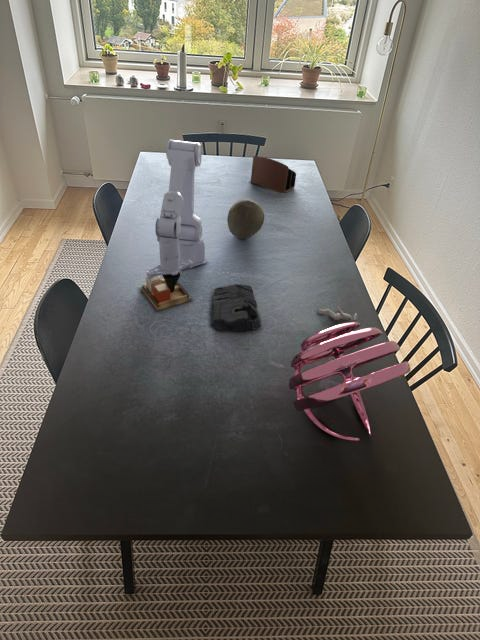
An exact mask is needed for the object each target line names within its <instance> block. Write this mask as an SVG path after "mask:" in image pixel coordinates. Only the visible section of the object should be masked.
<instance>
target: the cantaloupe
mask: <svg viewBox="0 0 480 640" xmlns="http://www.w3.org/2000/svg"><path fill="white" fill-rule="evenodd" d="M226 220H227V221H226V223H227V227H228V230H229V232H230V234H231V235H233V236H234V237H235V238H237V239H249V238H251V237H253V236H255V235H256V234H257V233H258V232H259V231H260V230H261V229H262V227H263V225H264V222H265V212H264V210H263V208H262V206H261V205H260V204H259V203H258V202H256V201H254V200H252V199H249V198H243V199H239V200H238V201H236V202H234V203H233V205H232V206H231V207H230V208H229V210H228V213H227V217H226Z"/></svg>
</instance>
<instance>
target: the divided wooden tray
mask: <svg viewBox="0 0 480 640" xmlns="http://www.w3.org/2000/svg"><path fill="white" fill-rule="evenodd" d="M161 279H162V284H164V283H165V284H166V282H165V280H164V278H161ZM166 285H167V284H166ZM140 290H141V291H142V293H143V294H144V295H145V297H146V298H147V299H148V301H149V302H150V303H151V304H152V306H153V307H154V309H155V310H156V311H157V312H158V311H161V310H164V309H168V308H171V307H174V306H178V305H181V304H184V303H187V302H190V301H191V300H192V299H191V297H190V294H189V293H188V292H187V291H186V289H184V287H183V286H182V285H181V284H180V283H179V281H177V283H176V285H175V289H174V292H172V293H170V300H167V301H163V302H160V303H158V301H157V300H156V299H155V297H154V292H152V293H151V292H150V291H149V290H148V288H147V286H146V283H143V284H142V285H141V287H140Z"/></svg>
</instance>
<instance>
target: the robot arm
mask: <svg viewBox="0 0 480 640" xmlns="http://www.w3.org/2000/svg"><path fill="white" fill-rule="evenodd" d="M202 153H203V152H202V144H201V143H200V142H195V141H194V142H193V141H183V140H176V139H169V140H168V141H167V143H166V147H165V155H166V159H167V163H168V165H169V166H170V173H169V174H170V175H169V185H168V191H166V192H165V193H164V195H163V199H162V204H161V209H160V215H159V217H157V218H156V221H155V227H154V228H155V235H156V238H157V239H156V240H157V242H158V247H159V262H160V263H159V264H158V265H156V266H155V267H152V268H151V269H149V270H146V277H148V278H149V279H152V278H153V277H155V276H159V277H160V276H162V279H164V280H165V282H166V284H167V287H168V288H169V289H170V293H172V292H174V289H175V285H176V283H177V282H179V279H180V278H181V271H183V270H187V269H192V268H193V267H197V266H200V265H201V266H202V265H204V264H206V261H205V259H206V256H205V255H206V253H205V251H206V246H205V241H204V239H203V238H202V237H203V225H202V224H203V223H202V222H203V221H202V219H201V218H200V217H199V216H198V215H196V214H195V173H196V172H195V171H196V168H199V167H201V166H202V165H201V164H202Z"/></svg>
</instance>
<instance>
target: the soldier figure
mask: <svg viewBox="0 0 480 640" xmlns="http://www.w3.org/2000/svg"><path fill="white" fill-rule="evenodd" d="M336 308H337V310H338V312H337V313H335V312H334V311H332V310H331V309H329V308H327V309H322V308H321V307H320V305H319V306H318V307H317V313H319V315H328V316H329V317H330V318H331V319H332V320H334V321H341V320H343V321H350V320H352V321H351V322H357V320H358V313H357V312H355V314H349V313H344V311H343V310H341V308H340V306H339V305H337V306H336Z"/></svg>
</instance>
